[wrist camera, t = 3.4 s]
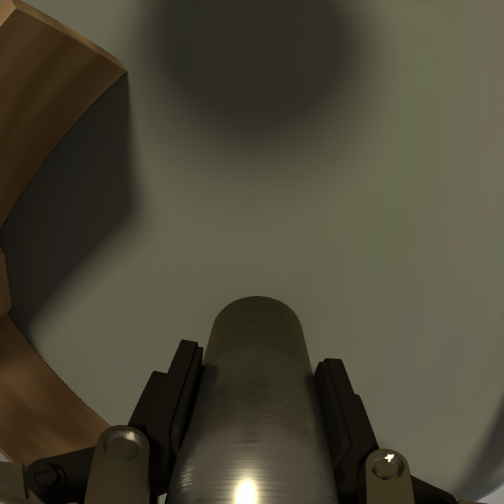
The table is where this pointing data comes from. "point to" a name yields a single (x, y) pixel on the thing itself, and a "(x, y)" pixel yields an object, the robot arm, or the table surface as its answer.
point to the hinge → (7, 193)
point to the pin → (254, 416)
